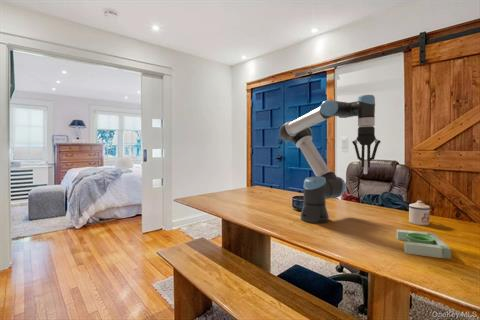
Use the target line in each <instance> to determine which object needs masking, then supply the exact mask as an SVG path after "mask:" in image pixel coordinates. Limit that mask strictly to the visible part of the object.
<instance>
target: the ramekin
mask: <svg viewBox="0 0 480 320" xmlns="http://www.w3.org/2000/svg"><path fill="white" fill-rule="evenodd" d="M407 239H408V241H407V242H414V243H423V244H432V245H433V244H434V241H435V239H434V238H433V237H431V236H429V235H425V234H421V233H408V234H407Z"/></svg>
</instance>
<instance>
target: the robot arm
mask: <svg viewBox="0 0 480 320" xmlns="http://www.w3.org/2000/svg"><path fill="white" fill-rule="evenodd" d="M357 98H358V99H357V101H352V102H346V101H339V100H337V101H336V100H333V99H331V100H330V99H329V100H328V99H327V100H324V101H323V102H321V104H320V106H319V107H317V108H315V109H313V110H311V111H309V112H308V113H306V114H304V115H302V116H300V117H298V118H297V119H294V120H293V121H291V120H289V121H287V122H285V123H284V124H282V125H281V126H280V127H279V130H278V131H279V133H278V135H279V137H280V139H282V141H284V142H288V143H293V144H294V145H295V147H296V148H299V149H300V151H301V153H302V154H303V156H304V159H305V160H306V161H307V163H308V165H309V166H310V169H311V170H312V171H313V174H314V175H315V176H310V177H309V176H308V177H305V179H304V181H303V207H302V209H301V212H300V220H301V221H302V222H305V223H311V224H323V223H328V222H329V221H330V215H329V212H328V210H327V205H326V203H327V202H326V200H328V199H329V200H330V199H336V198H338V197H342V196H343V195H344V194H345V192H346V188H347V187H346V182H345V180H344V178H342V177H340V176H337V175H336V173H335V172H334V171H333V170H330V169H329V167H328V165H327V164H326V162H325V160H324V159H323V157H322V155H321V154H320V152H319V151H318V149H317V147H316V145H315V144H314V143H313V130H312V128H311V127H313V126H315V125H318V124H320V123H322V122H323V121H324V122H325V121H326V120H329V119H330V118H332V117H338V118H339V119H346V118H352V117H357V127H358V128H357V136H356V139H354V140H353V141H352V142H351V143H352V144H353V146H354V150H355V153H356V157H357V160H358V161H361V166H360V167H361V168H363V174H364V175H368V168H370V167H371V161H373V160H375V158H376V153H377V150H378V148H379V147H378V146H379V145H380V144H381V142H382V141H381V139H380V140H379V139H377V138H376V135H375V130H376V129H375V125H376V124H375V123H376V122H375V120H376V117H375V114H376V113H375V112H376V97H375V95H373V94H363V95H360V96H357ZM358 143H359V145H360V146H361V155H360V151H359V147H358V145H357V144H358ZM373 143H374V147H373V151H372V153H371V146H372V144H373ZM365 146H366V147H365ZM365 148H366V151H365ZM365 152H366V153H367V155H366V160H365Z"/></svg>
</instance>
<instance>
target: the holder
mask: <svg viewBox="0 0 480 320" xmlns="http://www.w3.org/2000/svg"><path fill="white" fill-rule="evenodd" d="M408 233H421V234H425V235H429V236H431V237H433V238H434V239H435V241H434V244H433V245H432V244H423V243H414V242H408V239H407V234H408ZM396 239H397V240H398V241H404V242H403V251H404V253H405V254H407V255H408V254H409V255H415V256H424V257H430V258H432V257H433V258H438V259H447V260H451V258H452V249H451V248H450V247H449V245H447V244H446V243H445V242H444V241H443V240H442V239H441V238H440V237H439V236H438V235H437V234H436V233H434V232H427V231H426V232H425V231H414V230H405V229H396Z"/></svg>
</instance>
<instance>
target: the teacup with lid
mask: <svg viewBox="0 0 480 320" xmlns="http://www.w3.org/2000/svg"><path fill="white" fill-rule="evenodd" d="M408 210H409V211H408V223H411V225H416V226H429V225H430V214H431V211H430V210H431V207H430V206H429V205H427V204H425V203H424V202H423V201H422V200H417V201H416V202H414V203H409V205H408Z"/></svg>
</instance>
